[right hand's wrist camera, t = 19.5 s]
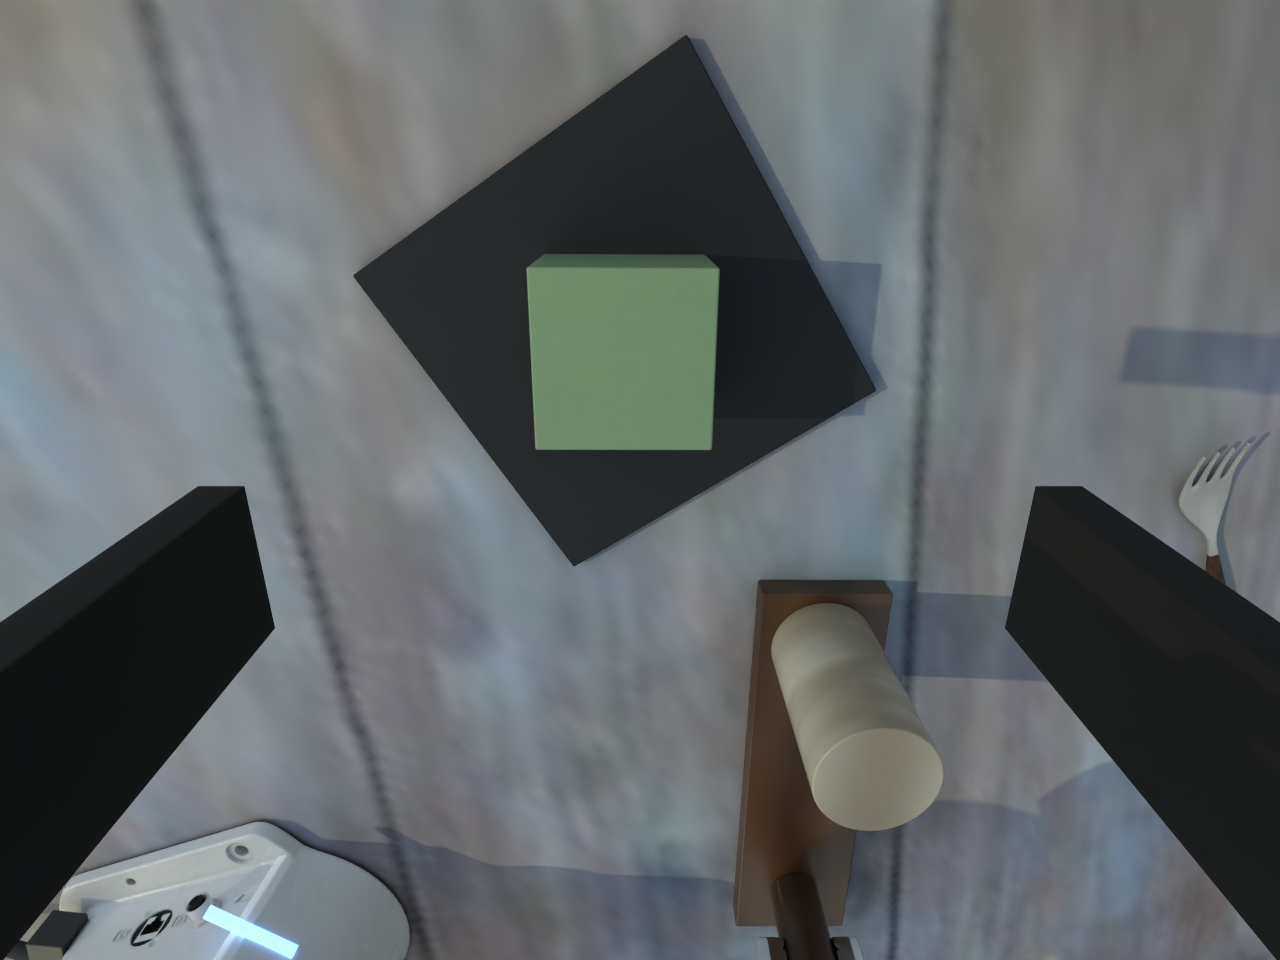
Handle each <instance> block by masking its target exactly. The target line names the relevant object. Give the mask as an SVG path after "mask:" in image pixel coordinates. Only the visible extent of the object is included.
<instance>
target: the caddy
mask: <svg viewBox="0 0 1280 960" xmlns="http://www.w3.org/2000/svg"><path fill="white" fill-rule="evenodd" d="M892 595H893V594H892V592H891V591H890V589H889V588H888V586H887V585H886V583H885V582H884V581H774V580H760V581H758V591H757V604H756V617H755V630H754V643H753V656H752V669H751V682H750V695H749V708H748V721H747V734H746V747H745V760H744V773H743V787H742V800H741V813H740V826H739V839H738V852H737V865H736V878H735V891H734V904H733V907H734V915H735V922H736V926H777V930H778V936H779V937H782V938H783V940H784V950H785V951H786V955H787V960H836V957H835V953H834V949H833V946H832V942H831V938H830V934H829V931H828V927H827V926H841V925H842V921H843V915H844V908H845V902H846V895H847V889H848V882H849V876H850V869H851V863H852V856H853V850H854V843H855V837H856V830H860V831H880V830H886V829H890V828H894V827H897V826H900V825H903V824H905V823H907V822H909V821H911V820H913V819H915V818H916V817H918V816H919V815H920V814H922V813H923V812H924V811H925V810H926V809H927V808H928V807H929V806H930V805H931V804H932V803H933V802H934V800H935V799H936V797H937V796H938V794H939V792H940V789H941V787H942V783H943V777H944V768H943V763H942V759H941V757H940V755H939V753H938V751H937V749H936V747H935V745H934V743H933V742H932V740H931V738H930V736H929V734H928V732H927V731H926V729H925V727H924V725H923V723H922V721H921V720H920V718H919V716H918V714H917V712H916V710H915V708H914V707H913V705H912V703H911V701H910V699H909V697H908V696H907V694H906V692H905V690H904V688H903V686H902V685H901V683H900V681H899V679H898V677H897V675H896V673H895V672H894V670H893V668H892V666H891V664H890V662H889V661H888V659H887V657H886V655H885V653H884V647H885V641H886V634H887V628H888V621H889V615H890V608H891V602H892Z"/></svg>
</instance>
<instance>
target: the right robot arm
mask: <svg viewBox="0 0 1280 960" xmlns="http://www.w3.org/2000/svg"><path fill="white" fill-rule="evenodd" d="M274 629H275V626H274V622H273V617H272V612H271V608H270V603H269V598H268V594H267V589H266V584H265V580H264V575H263V571H262V566H261V561H260V557H259V552H258V547H257V543H256V538H255V533H254V529H253V524H252V520H251V515H250V510H249V506H248V501H247V496H246V492H245V487H244V486H198V487H196V488H195V489H194V490H192V491H191V492H189V493H188V494H186V495H185V496H183V497H182V498H180V499H179V500H178V501H176V502H175V503H173V504H172V505H170V506H169V507H167V508H166V509H164V510H163V511H162V512H160V513H159V514H157V515H156V516H154V517H153V518H151V519H150V520H148V521H147V522H146V523H144V524H143V525H141V526H140V527H138V528H137V529H135V530H134V531H133V532H131V533H130V534H128V535H127V536H125V537H124V538H122V539H121V540H119V541H118V542H117V543H115V544H114V545H112V546H111V547H109V548H108V549H106V550H105V551H103V552H102V553H101V554H99V555H98V556H96V557H95V558H93V559H92V560H90V561H89V562H87V563H86V564H85V565H83V566H82V567H80V568H79V569H77V570H76V571H74V572H73V573H71V574H70V575H69V576H67V577H66V578H64V579H63V580H61V581H60V582H58V583H57V584H55V585H54V586H53V587H51V588H50V589H48V590H47V591H45V592H44V593H42V594H41V595H39V596H38V597H37V598H35V599H34V600H32V601H31V602H29V603H28V604H26V605H25V606H23V607H22V608H21V609H19V610H18V611H16V612H15V613H13V614H12V615H10V616H9V617H7V618H6V619H5V620H3V621H2V622H0V960H4V958H5V957H6V956H7V955H8V953H9V952H10V951H11V950H12V949H13V947H14V946H15V945H16V944H17V942H18V941H19V940H20V939H21V938H22V936H23V935H24V934H25V933H26V931H27V930H28V929H29V928H30V927H31V925H32V924H33V923H34V922H35V920H36V919H37V918H38V917H39V916H40V914H41V913H42V912H43V911H44V909H45V908H46V907H47V906H48V905H49V903H50V902H51V901H52V900H53V898H54V897H55V896H56V895H57V894H58V892H59V891H60V890H61V889H62V887H63V886H64V885H65V884H66V883H67V881H68V880H69V879H70V878H71V877H72V875H73V874H74V873H75V872H76V870H77V869H78V868H79V867H80V866H81V864H82V863H83V862H84V861H85V859H86V858H87V857H88V856H89V855H90V853H91V852H92V851H93V850H94V848H95V847H96V846H97V845H98V844H99V842H100V841H101V840H102V839H103V837H104V836H105V835H106V834H107V833H108V831H109V830H110V829H111V828H112V826H113V825H114V824H115V823H116V822H117V820H118V819H119V818H120V817H121V815H122V814H123V813H124V812H125V811H126V809H127V808H128V807H129V806H130V804H131V803H132V802H133V801H134V800H135V798H136V797H137V796H138V795H139V793H140V792H141V791H142V790H143V789H144V787H145V786H146V785H147V784H148V783H149V781H150V780H151V779H152V778H153V776H154V775H155V774H156V773H157V772H158V770H159V769H160V768H161V767H162V765H163V764H164V763H165V762H166V761H167V759H168V758H169V757H170V756H171V754H172V753H173V752H174V751H175V750H176V748H177V747H178V746H179V745H180V743H181V742H182V741H183V740H184V739H185V737H186V736H187V735H188V734H189V732H190V731H191V730H192V729H193V728H194V726H195V725H196V724H197V723H198V721H199V720H200V719H201V718H202V717H203V715H204V714H205V713H206V712H207V710H208V709H209V708H210V707H211V706H212V704H213V703H214V702H215V701H216V699H217V698H218V697H219V696H220V695H221V693H222V692H223V691H224V690H225V688H226V687H227V686H228V685H229V684H230V682H231V681H232V680H233V679H234V678H235V676H236V675H237V674H238V673H239V671H240V670H241V669H242V668H243V667H244V665H245V664H246V663H247V662H248V660H249V659H250V658H251V657H252V656H253V654H254V653H255V652H256V651H257V649H258V648H259V647H260V646H261V645H262V643H263V642H264V641H265V640H266V638H267V637H268V636H269V635H270V634H271V632H272V631H273V630H274ZM1005 629H1006V630H1007V631H1008V632H1009V634H1010V635H1011V636H1012V637H1013V638H1014V640H1015V641H1016V642H1017V643H1018V645H1019V646H1020V647H1021V648H1022V649H1023V651H1024V652H1025V653H1026V654H1027V656H1028V657H1029V658H1030V659H1031V660H1032V662H1033V663H1034V664H1035V665H1036V667H1037V668H1038V669H1039V670H1040V671H1041V673H1042V674H1043V675H1044V676H1045V678H1046V679H1047V680H1048V681H1049V682H1050V684H1051V685H1052V686H1053V687H1054V688H1055V690H1056V691H1057V692H1058V693H1059V695H1060V696H1061V697H1062V698H1063V699H1064V701H1065V702H1066V703H1067V704H1068V706H1069V707H1070V708H1071V709H1072V710H1073V712H1074V713H1075V714H1076V715H1077V717H1078V718H1079V719H1080V720H1081V721H1082V723H1083V724H1084V725H1085V726H1086V728H1087V729H1088V730H1089V731H1090V732H1091V734H1092V735H1093V736H1094V737H1095V739H1096V740H1097V741H1098V742H1099V743H1100V745H1101V746H1102V747H1103V748H1104V750H1105V751H1106V752H1107V753H1108V754H1109V756H1110V757H1111V758H1112V759H1113V761H1114V762H1115V763H1116V764H1117V765H1118V767H1119V768H1120V769H1121V770H1122V772H1123V773H1124V774H1125V775H1126V776H1127V778H1128V779H1129V780H1130V781H1131V783H1132V784H1133V785H1134V786H1135V787H1136V789H1137V790H1138V791H1139V792H1140V793H1141V795H1142V796H1143V797H1144V798H1145V800H1146V801H1147V802H1148V803H1149V804H1150V806H1151V807H1152V808H1153V809H1154V811H1155V812H1156V813H1157V814H1158V815H1159V817H1160V818H1161V819H1162V820H1163V822H1164V823H1165V824H1166V825H1167V826H1168V828H1169V829H1170V830H1171V831H1172V833H1173V834H1174V835H1175V836H1176V837H1177V839H1178V840H1179V841H1180V842H1181V844H1182V845H1183V846H1184V847H1185V848H1186V850H1187V851H1188V852H1189V853H1190V855H1191V856H1192V857H1193V858H1194V859H1195V861H1196V862H1197V863H1198V864H1199V866H1200V867H1201V868H1202V869H1203V870H1204V872H1205V873H1206V874H1207V875H1208V877H1209V878H1210V879H1211V880H1212V881H1213V883H1214V884H1215V885H1216V886H1217V887H1218V889H1219V890H1220V891H1221V892H1222V894H1223V895H1224V896H1225V897H1226V898H1227V900H1228V901H1229V902H1230V903H1231V905H1232V906H1233V907H1234V908H1235V909H1236V911H1237V912H1238V913H1239V914H1240V916H1241V917H1242V918H1243V919H1244V920H1245V922H1246V923H1247V924H1248V925H1249V927H1250V928H1251V929H1252V930H1253V931H1254V933H1255V934H1256V935H1257V936H1258V938H1259V939H1260V940H1261V941H1262V942H1263V944H1264V945H1265V946H1266V947H1267V949H1268V950H1269V951H1270V952H1271V953H1272V955H1273V956H1274V957H1275V958H1276V960H1280V622H1278V621H1277V620H1275V619H1274V618H1273V617H1271V616H1270V615H1268V614H1267V613H1265V612H1264V611H1262V610H1261V609H1259V608H1258V607H1257V606H1255V605H1254V604H1252V603H1251V602H1249V601H1248V600H1246V599H1245V598H1243V597H1242V596H1241V595H1239V594H1238V593H1236V592H1235V591H1233V590H1232V589H1230V588H1229V587H1227V586H1226V585H1225V584H1223V583H1222V582H1220V581H1219V580H1217V579H1216V578H1214V577H1213V576H1211V575H1210V574H1209V573H1207V572H1206V571H1204V570H1203V569H1201V568H1200V567H1198V566H1197V565H1195V564H1194V563H1193V562H1191V561H1190V560H1188V559H1187V558H1185V557H1184V556H1182V555H1181V554H1179V553H1178V552H1177V551H1175V550H1174V549H1172V548H1171V547H1169V546H1168V545H1166V544H1165V543H1163V542H1162V541H1161V540H1159V539H1158V538H1156V537H1155V536H1153V535H1152V534H1150V533H1149V532H1147V531H1146V530H1145V529H1143V528H1142V527H1140V526H1139V525H1137V524H1136V523H1134V522H1133V521H1131V520H1130V519H1129V518H1127V517H1126V516H1124V515H1123V514H1121V513H1120V512H1118V511H1117V510H1116V509H1114V508H1113V507H1111V506H1110V505H1108V504H1107V503H1105V502H1104V501H1102V500H1101V499H1100V498H1098V497H1097V496H1095V495H1094V494H1092V493H1091V492H1089V491H1088V490H1086V489H1085V488H1084V487H1082V486H1036V487H1035V492H1034V496H1033V501H1032V506H1031V510H1030V515H1029V520H1028V524H1027V529H1026V533H1025V538H1024V543H1023V547H1022V552H1021V557H1020V561H1019V566H1018V571H1017V575H1016V580H1015V584H1014V589H1013V594H1012V598H1011V603H1010V608H1009V612H1008V617H1007V622H1006V626H1005Z"/></svg>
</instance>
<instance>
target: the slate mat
mask: <svg viewBox="0 0 1280 960" xmlns="http://www.w3.org/2000/svg"><path fill="white" fill-rule="evenodd" d="M544 254H664V255H705V256H707V257H708V258H709V259H710V260H711V261H712V262H713V263H714V264H715V265H716V266H717V267H718V268H719V269H720V275H719V299H718V322H717V345H716V368H715V391H714V415H713V438H712V449H711V450H537V449H536V448H535V429H534V409H533V389H532V369H531V349H530V329H529V309H528V289H527V267H529V266H530V265H531V264H532V263H534V262H535V261H536V260H538V259H539V258H540V257H542V256H543V255H544ZM354 278H355V279H356V281H357V282H358V283H359V284H360V286H361V287H362V288H363V290H364V291H365V292H366V294H367V295H368V296H369V298H370V299H371V300H372V302H373V303H374V304H375V306H376V307H377V308H378V309H379V311H380V312H381V313H382V315H383V316H384V317H385V319H386V320H387V321H388V323H389V324H390V325H391V327H392V328H393V329H394V331H395V332H396V333H397V334H398V336H399V337H400V338H401V340H402V341H403V342H404V344H405V345H406V346H407V348H408V349H409V350H410V352H411V353H412V354H413V356H414V357H415V358H416V359H417V361H418V362H419V363H420V365H421V366H422V367H423V369H424V370H425V371H426V373H427V374H428V375H429V377H430V378H431V379H432V381H433V382H434V383H435V384H436V386H437V387H438V388H439V390H440V391H441V392H442V394H443V395H444V396H445V398H446V399H447V400H448V402H449V403H450V404H451V406H452V407H453V408H454V410H455V411H456V412H457V413H458V415H459V416H460V417H461V419H462V420H463V421H464V423H465V424H466V425H467V427H468V428H469V429H470V431H471V432H472V433H473V435H474V436H475V437H476V438H477V440H478V441H479V442H480V444H481V445H482V446H483V448H484V449H485V450H486V452H487V453H488V454H489V456H490V457H491V458H492V460H493V461H494V462H495V463H496V465H497V466H498V467H499V469H500V470H501V471H502V473H503V474H504V475H505V477H506V478H507V479H508V481H509V482H510V483H511V485H512V486H513V487H514V488H515V490H516V491H517V492H518V494H519V495H520V496H521V498H522V499H523V500H524V502H525V503H526V504H527V506H528V507H529V508H530V510H531V511H532V512H533V513H534V515H535V516H536V517H537V519H538V520H539V521H540V523H541V524H542V525H543V527H544V528H545V529H546V531H547V532H548V533H549V535H550V536H551V537H552V539H553V540H554V541H555V542H556V544H557V545H558V546H559V548H560V549H561V550H562V552H563V553H564V554H565V556H566V557H567V558H568V560H569V561H570V562H571V564H572V565H573V566H576V565H577V564H579V563H581V562H583V561H584V560H586V559H588V558H589V557H591V556H593V555H595V554H596V553H598V552H600V551H601V550H603V549H605V548H607V547H608V546H610V545H612V544H613V543H615V542H617V541H619V540H620V539H622V538H624V537H625V536H627V535H629V534H631V533H632V532H634V531H636V530H637V529H639V528H641V527H643V526H644V525H646V524H648V523H650V522H651V521H653V520H655V519H656V518H658V517H660V516H662V515H663V514H665V513H667V512H668V511H670V510H672V509H674V508H675V507H677V506H679V505H680V504H682V503H684V502H686V501H687V500H689V499H691V498H692V497H694V496H696V495H698V494H699V493H701V492H703V491H704V490H706V489H708V488H710V487H711V486H713V485H715V484H717V483H718V482H720V481H722V480H723V479H725V478H727V477H729V476H730V475H732V474H734V473H735V472H737V471H739V470H741V469H742V468H744V467H746V466H747V465H749V464H751V463H753V462H754V461H756V460H758V459H759V458H761V457H763V456H765V455H766V454H768V453H770V452H771V451H773V450H775V449H777V448H778V447H780V446H782V445H784V444H785V443H787V442H789V441H790V440H792V439H794V438H796V437H797V436H799V435H801V434H802V433H804V432H806V431H808V430H809V429H811V428H813V427H814V426H816V425H818V424H820V423H821V422H823V421H825V420H826V419H828V418H830V417H832V416H833V415H835V414H837V413H838V412H840V411H842V410H844V409H845V408H847V407H849V406H851V405H852V404H854V403H856V402H857V401H859V400H861V399H863V398H864V397H866V396H868V395H869V394H871V393H873V392H875V391H876V389H875V387H874V385H873V383H872V381H871V379H870V377H869V376H868V374H867V372H866V370H865V368H864V366H863V364H862V362H861V361H860V359H859V357H858V355H857V353H856V351H855V349H854V347H853V346H852V344H851V342H850V340H849V338H848V336H847V334H846V332H845V331H844V329H843V327H842V325H841V323H840V321H839V319H838V317H837V316H836V314H835V312H834V310H833V308H832V306H831V304H830V302H829V301H828V299H827V297H826V295H825V293H824V291H823V289H822V287H821V286H820V284H819V282H818V280H817V278H816V276H815V274H814V272H813V271H812V269H811V267H810V265H809V263H808V261H807V259H806V257H805V256H804V254H803V252H802V250H801V248H800V246H799V244H798V242H797V241H796V239H795V237H794V235H793V233H792V231H791V229H790V227H789V226H788V224H787V222H786V220H785V218H784V216H783V214H782V212H781V211H780V209H779V207H778V205H777V203H776V201H775V199H774V197H773V196H772V194H771V192H770V190H769V188H768V186H767V184H766V182H765V181H764V179H763V177H762V175H761V173H760V171H759V169H758V167H757V166H756V164H755V162H754V160H753V158H752V156H751V154H750V152H749V150H748V149H747V147H746V145H745V143H744V141H743V139H742V137H741V135H740V134H739V132H738V130H737V128H736V126H735V124H734V122H733V120H732V119H731V117H730V115H729V113H728V111H727V109H726V107H725V105H724V104H723V102H722V100H721V98H720V96H719V94H718V92H717V90H716V89H715V87H714V85H713V83H712V81H711V79H710V77H709V75H708V74H707V72H706V70H705V68H704V66H703V64H702V62H701V60H700V59H699V57H698V55H697V53H696V51H695V49H694V47H693V45H692V44H691V42H690V40H689V38H688V36H687V35H685V36H684V37H682V38H681V39H680V40H678V41H677V42H676V43H674V44H673V45H671V46H670V47H669V48H667V49H666V50H664V51H663V52H662V53H660V54H659V55H658V56H656V57H655V58H653V59H652V60H651V61H649V62H648V63H646V64H645V65H644V66H642V67H641V68H640V69H638V70H637V71H635V72H634V73H633V74H631V75H630V76H628V77H627V78H626V79H624V80H623V81H622V82H620V83H619V84H617V85H616V86H615V87H613V88H612V89H610V90H609V91H608V92H606V93H605V94H604V95H602V96H601V97H599V98H598V99H597V100H595V101H594V102H592V103H591V104H590V105H588V106H587V107H586V108H584V109H583V110H581V111H580V112H579V113H577V114H576V115H574V116H573V117H572V118H570V119H569V120H568V121H566V122H565V123H563V124H562V125H561V126H559V127H558V128H556V129H555V130H554V131H552V132H551V133H550V134H548V135H547V136H545V137H544V138H543V139H541V140H540V141H538V142H537V143H536V144H534V145H533V146H532V147H530V148H529V149H527V150H526V151H525V152H523V153H522V154H521V155H519V156H518V157H516V158H515V159H514V160H512V161H511V162H509V163H508V164H507V165H505V166H504V167H503V168H501V169H500V170H498V171H497V172H496V173H494V174H493V175H491V176H490V177H489V178H487V179H486V180H485V181H483V182H482V183H480V184H479V185H478V186H476V187H475V188H473V189H472V190H471V191H469V192H468V193H467V194H465V195H464V196H462V197H461V198H460V199H458V200H457V201H455V202H454V203H453V204H451V205H450V206H449V207H447V208H446V209H444V210H443V211H442V212H440V213H439V214H437V215H436V216H435V217H433V218H432V219H431V220H429V221H428V222H426V223H425V224H424V225H422V226H421V227H419V228H418V229H417V230H415V231H414V232H413V233H411V234H410V235H408V236H407V237H406V238H404V239H403V240H401V241H400V242H399V243H397V244H396V245H395V246H393V247H392V248H390V249H389V250H388V251H386V252H385V253H383V254H382V255H381V256H379V257H378V258H377V259H375V260H374V261H372V262H371V263H370V264H368V265H367V266H365V267H364V268H363V269H361V270H360V271H359V272H357V273H356V274H354Z"/></svg>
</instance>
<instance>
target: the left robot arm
mask: <svg viewBox="0 0 1280 960" xmlns="http://www.w3.org/2000/svg"><path fill="white" fill-rule="evenodd" d="M409 942H410V930H409V924H408V920H407V917H406V915H405V912H404V910H403V908H402V906H401V905H400V903H399V902H398V900H397V899H396V897H395V896H394V895H393V894H392V892H391V891H390V890H389V889H388V888H387V887H386V886H385V885H384V884H383V883H381V882H380V881H379V880H378V879H377V878H375V877H374V876H373V875H371V874H370V873H368V872H367V871H365V870H364V869H362V868H360V867H358V866H356V865H354V864H352V863H350V862H348V861H346V860H344V859H341V858H339V857H336V856H333V855H330V854H327V853H324V852H321V851H318V850H315V849H312V848H309V847H307V846H305V845H303V844H302V843H300V842H299V841H298V840H296V839H295V838H293V837H292V836H290V835H289V834H288V833H286V832H285V831H283V830H281V829H280V828H278V827H276V826H274V825H272V824H270V823H266V822H253V823H249V824H246V825H242V826H239V827H236V828H232V829H229V830H225V831H222V832H219V833H215V834H212V835H209V836H205V837H202V838H199V839H195V840H192V841H189V842H185V843H182V844H178V845H175V846H172V847H168V848H165V849H162V850H158V851H155V852H152V853H148V854H145V855H141V856H138V857H135V858H131V859H128V860H125V861H121V862H118V863H115V864H111V865H108V866H105V867H101V868H98V869H94V870H91V871H88V872H85V873H81V874H79V875H76V876H74V877H72V878H71V879H70V880H69V882H68V883H67V885H66V886H65V888H64V889H63V891H62V894H61V898H60V904H59V911H57V910H53V911H52V912H51V914H50V915H49V916H48V917H47V919H46V920H45V921H44V922H43V924H42V925H41V926H40V927H39V929H38V930H37V931H36V932H35V934H34V935H33V936H32V937H31V939H30V940H29V941H28V942H24V941H21V940H19V941H18V942H17V944H16V945H15V946H14V947H13V949H12V950H11V951H10V952H9V953H8V955H7V956H6V957H7V958H10V959H14V960H404V959H405V956H406V954H407V951H408V948H409ZM831 942H832V946H833V949H834V953H835V957H836V960H864V958H863V955H862V951H861V948H860V945H859V942H858V939H857V937H832V938H831ZM756 955H757V960H787V955H786V951H785V950H784V940H783V938H782V937H758V938H757V948H756Z"/></svg>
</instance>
